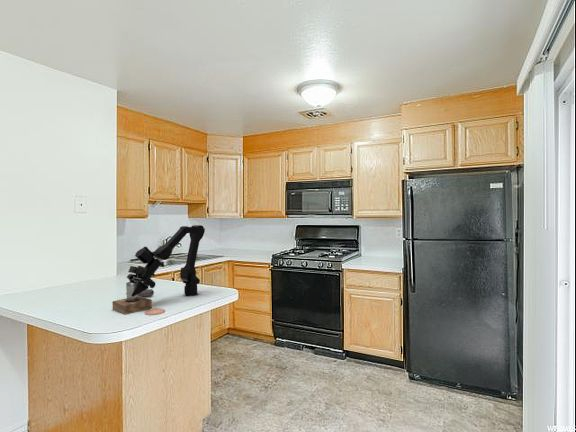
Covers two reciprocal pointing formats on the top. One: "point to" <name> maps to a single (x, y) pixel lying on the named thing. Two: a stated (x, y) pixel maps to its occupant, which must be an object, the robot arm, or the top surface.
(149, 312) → the mat
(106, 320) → the top surface
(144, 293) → the pipe
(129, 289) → the shiny metal cylinder
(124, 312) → the housing
